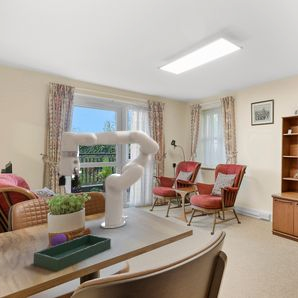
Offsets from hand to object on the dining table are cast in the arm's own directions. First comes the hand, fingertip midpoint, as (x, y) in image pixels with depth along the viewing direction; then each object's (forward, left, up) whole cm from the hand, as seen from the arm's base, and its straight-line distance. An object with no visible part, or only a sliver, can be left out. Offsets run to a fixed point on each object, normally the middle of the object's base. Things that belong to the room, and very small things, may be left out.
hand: (68, 186), depth 123 cm
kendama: (+4, +11, -26) cm, 29 cm away
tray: (+14, +28, -26) cm, 41 cm away
